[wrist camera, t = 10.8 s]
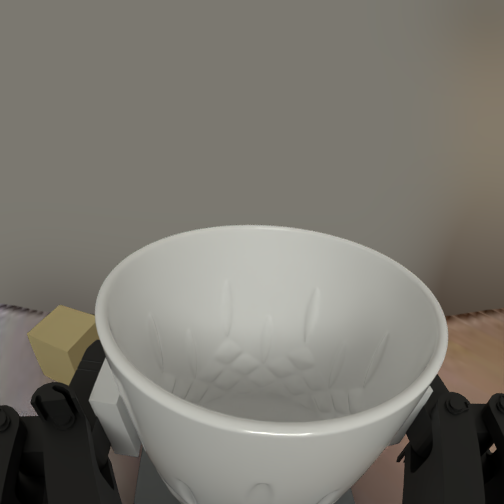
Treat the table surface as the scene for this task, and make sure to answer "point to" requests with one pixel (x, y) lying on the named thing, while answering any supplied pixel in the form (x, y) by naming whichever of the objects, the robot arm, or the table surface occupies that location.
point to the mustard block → (62, 342)
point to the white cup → (267, 359)
